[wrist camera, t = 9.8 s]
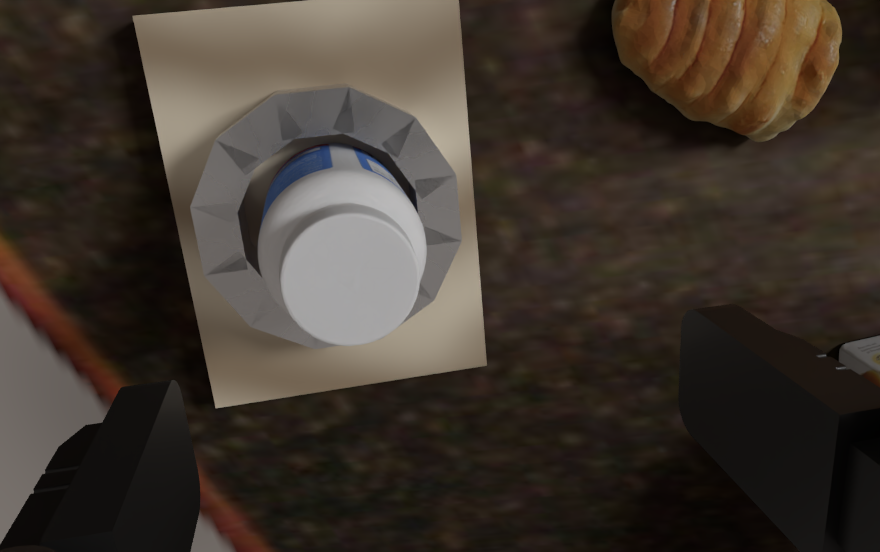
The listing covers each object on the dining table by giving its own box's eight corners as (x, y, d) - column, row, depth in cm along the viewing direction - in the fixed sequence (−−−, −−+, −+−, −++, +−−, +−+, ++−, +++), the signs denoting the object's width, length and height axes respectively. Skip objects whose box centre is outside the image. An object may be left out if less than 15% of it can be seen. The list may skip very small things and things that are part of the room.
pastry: (578, 86, 32) (613, 91, 28) (632, -76, 30) (676, -93, 26) (760, 144, 34) (814, 155, 30) (819, -4, 32) (882, -11, 29)
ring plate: (141, 17, 28) (132, 15, 26) (450, -11, 29) (457, -13, 28) (219, 392, 33) (215, 408, 31) (479, 352, 34) (486, 365, 33)
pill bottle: (265, 269, 30) (245, 369, 21) (266, 137, 28) (246, 182, 19) (397, 272, 31) (434, 369, 22) (406, 145, 29) (450, 192, 20)
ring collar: (181, 100, 27) (169, 105, 25) (436, 73, 29) (448, 76, 26) (228, 338, 31) (222, 363, 28) (457, 305, 32) (468, 326, 30)
